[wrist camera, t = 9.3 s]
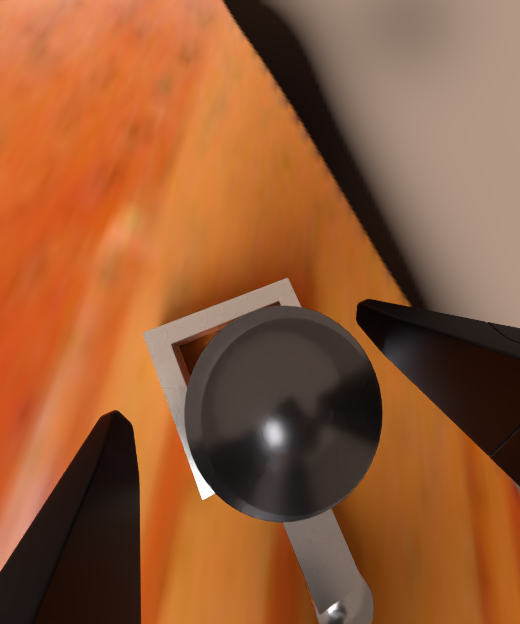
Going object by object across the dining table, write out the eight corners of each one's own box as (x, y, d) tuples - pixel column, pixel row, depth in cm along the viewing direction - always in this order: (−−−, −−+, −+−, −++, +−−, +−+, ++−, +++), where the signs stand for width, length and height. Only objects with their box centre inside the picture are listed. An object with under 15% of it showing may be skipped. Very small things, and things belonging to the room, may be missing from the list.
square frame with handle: (401, 556, 15) (434, 594, 13) (272, 654, 13) (282, 722, 11) (279, 288, 17) (287, 277, 15) (155, 336, 15) (142, 332, 13)
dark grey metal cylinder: (289, 390, 16) (434, 462, 5) (228, 421, 15) (234, 598, 4) (263, 330, 17) (339, 272, 5) (202, 356, 16) (145, 349, 5)
